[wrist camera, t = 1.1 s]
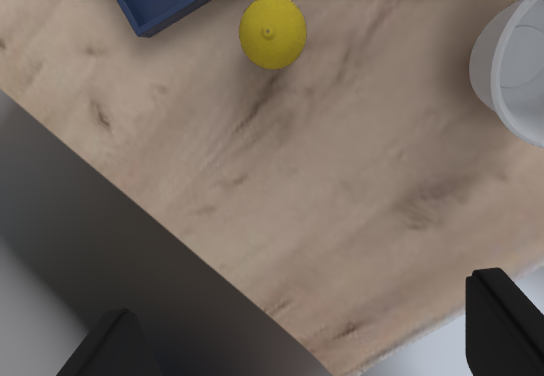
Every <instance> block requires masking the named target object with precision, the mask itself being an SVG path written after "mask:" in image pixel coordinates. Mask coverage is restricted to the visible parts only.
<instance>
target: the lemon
mask: <svg viewBox="0 0 544 376" xmlns="http://www.w3.org/2000/svg"><path fill="white" fill-rule="evenodd" d="M306 36H307V34H306V24H305V20H304V17H303V15H302V13H301V12H300V10H299V8H298V7H297V6H296V5H295V4H294V3H293V2H291V1H290V0H256V1H254V2H253V3H252V4H251V5H250V6H249V7H248V8H247V9H246V10H245V12H244V14H243V16H242V18H241V22H240V27H239V38H240V42H241V46H242V48H243V50H244V52H245V54H246V55H247V57H248V58H249V59H250V60H251V61H252V62H253V63H255V64H256V65H258V66H260V67H263V68H265V69H273V70H274V69H280V68H283V67H286V66H288V65H290V64H291V63H292V62H294V61H295V60H296V59H297V58H298V56H299V55H300V54H301V52H302V50H303V47H304V45H305V41H306Z"/></svg>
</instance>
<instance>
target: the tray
mask: <svg viewBox="0 0 544 376" xmlns="http://www.w3.org/2000/svg"><path fill="white" fill-rule="evenodd" d="M209 1H211V0H117V2H118V4H119V5H120V7H121V9H122V11H123V12H124V14H125V16H126V17H127V19H128V21H129V23H130V24H131V26H132V28H133V30H134V31H135V33H136V35H137V36H138V37H147V38H150V37H152V36H154V35H155V34H157V33H158V32H160V31H162V30H163V29H165V28H167V27H168V26H170V25H172V24H173V23H175V22H176V21H178V20H180V19H181V18H183V17H185V16H186V15H188V14H190V13H191V12H193V11H195V10H196V9H198V8H199V7H201V6H203V5H204V4H206V3H208V2H209Z"/></svg>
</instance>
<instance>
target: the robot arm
mask: <svg viewBox="0 0 544 376" xmlns="http://www.w3.org/2000/svg"><path fill="white" fill-rule="evenodd" d="M466 358H467V363H468V365H469V368H470V370H471V372H472V374H473V376H544V315H543V314H542V313H541V312H540V311H539V310H538V309H537V307H536V306H535V305H534V304H533V303H532V302H531V301H530V300H529V299H528V298H527V296H526V295H525V294H524V293H523V292H522V291H521V290H520V289H519V288H518V287H517V285H515V283H514V282H513V281H512V280H511V279H510V278H509V277H508V275H507V274H506V273H505V272H504V271H503V270H502V269H501V268H489V269H480V270H474V271H473V273H472V276H470V277H467V278H466ZM56 376H162V373H161V371H160V369H159V367H158V364H157V362H156V360H155V357H154V355H153V353H152V351H151V348H150V346H149V344H148V342H147V340H146V337H145V335H144V333H143V331H142V328H141V326H140V324H139V322H138V319H137V317H136V315H135V314H134V313H131V311H130V310H129V309H127V308H123V309H114V310H108V311H106V312H105V313H104V314H103V315H102V317H101V318H100V319H99V320H98V322H97V323H96V324H95V326H94V327H93V328H92V330H91V331H90V332H89V333H88V335H87V336H86V337H85V339H84V340H83V341H82V342H81V344H80V345H79V346H78V348H77V349H76V350H75V352H74V353H73V354H72V356H71V357H70V358H69V359H68V361H67V362H66V364H65V365H64V366H63V367H62V369H61V370H60V371H59V372H58V374H57V375H56Z"/></svg>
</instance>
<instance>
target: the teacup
mask: <svg viewBox="0 0 544 376" xmlns="http://www.w3.org/2000/svg"><path fill="white" fill-rule="evenodd" d="M469 76H470V81H471V85H472V87H473V89H474V92H475V93H476V95H477V96H478V97H479V99H480V100H481V101H482V102H483V103H484V104H485V105H486V106H488V107H489V108H490V109H492V110H493V111H495V112H496V113H497V114H498V116H499V118H500V119H501V121H502V122H503V123H504V125H505V126H506V127H507V128H508V129H509V130H510V131H511V132H512V133H513V134H514V135H516V136H517V137H519V138H520V139H522V140H524V141H526V142H528V143H530V144H532V145H535V146H538V147H541V148H544V0H518V1H516V2H515V3H513V4H511V5H510V6H508V7H507V8H505V9H504V10H502V11H501V12H500V13H499V14H498V15H496V16H495V17H494V18H493V19H492V20H491V21H490V22H489V23H488V24H487V25H486V27H485V28H484V29H483V30H482V32H481V33H480V35H479V36H478V38H477V40H476V42H475V44H474V47H473V49H472V52H471V57H470V63H469Z"/></svg>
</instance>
